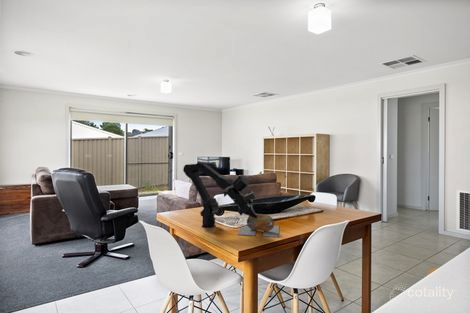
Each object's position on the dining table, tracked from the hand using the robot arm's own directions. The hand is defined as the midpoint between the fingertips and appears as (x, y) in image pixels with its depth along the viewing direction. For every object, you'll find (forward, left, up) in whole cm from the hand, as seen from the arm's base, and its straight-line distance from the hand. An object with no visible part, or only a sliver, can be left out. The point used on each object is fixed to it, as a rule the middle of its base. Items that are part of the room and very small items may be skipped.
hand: (256, 217), depth 151 cm
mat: (+1, +2, -7) cm, 8 cm away
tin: (+2, 0, -7) cm, 7 cm away
